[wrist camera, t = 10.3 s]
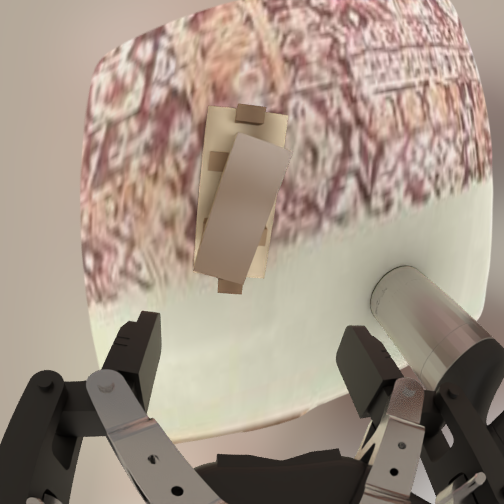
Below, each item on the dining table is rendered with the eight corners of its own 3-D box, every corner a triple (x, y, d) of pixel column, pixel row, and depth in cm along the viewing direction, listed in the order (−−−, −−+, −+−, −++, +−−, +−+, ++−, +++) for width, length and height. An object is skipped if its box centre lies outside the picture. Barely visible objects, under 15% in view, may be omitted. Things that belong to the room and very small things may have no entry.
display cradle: (286, 116, 28) (297, 112, 23) (263, 274, 34) (268, 296, 30) (208, 106, 27) (205, 100, 22) (194, 268, 33) (189, 290, 29)
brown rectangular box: (282, 148, 26) (294, 151, 22) (240, 262, 30) (243, 285, 26) (235, 132, 25) (237, 131, 21) (197, 249, 29) (192, 271, 25)
